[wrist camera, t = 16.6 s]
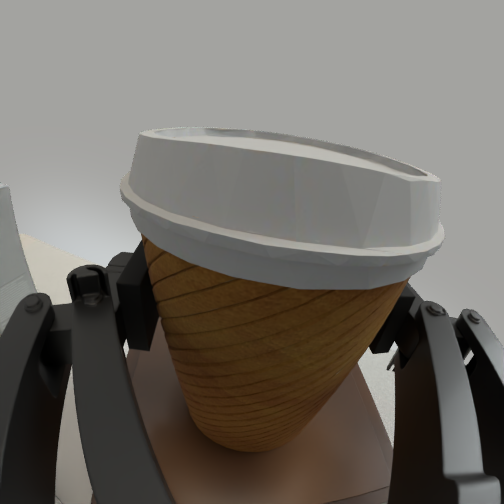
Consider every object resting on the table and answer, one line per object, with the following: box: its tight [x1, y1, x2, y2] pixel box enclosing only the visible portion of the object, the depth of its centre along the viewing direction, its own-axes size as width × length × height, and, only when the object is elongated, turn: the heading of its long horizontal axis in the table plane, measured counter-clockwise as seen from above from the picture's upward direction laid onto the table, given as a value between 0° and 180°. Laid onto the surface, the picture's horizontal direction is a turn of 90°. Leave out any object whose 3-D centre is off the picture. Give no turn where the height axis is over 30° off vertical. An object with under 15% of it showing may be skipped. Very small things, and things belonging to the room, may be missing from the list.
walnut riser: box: [91, 317, 393, 504], centre depth 15 cm, size 14×14×8 cm
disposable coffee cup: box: [120, 127, 445, 452], centre depth 10 cm, size 10×10×12 cm
